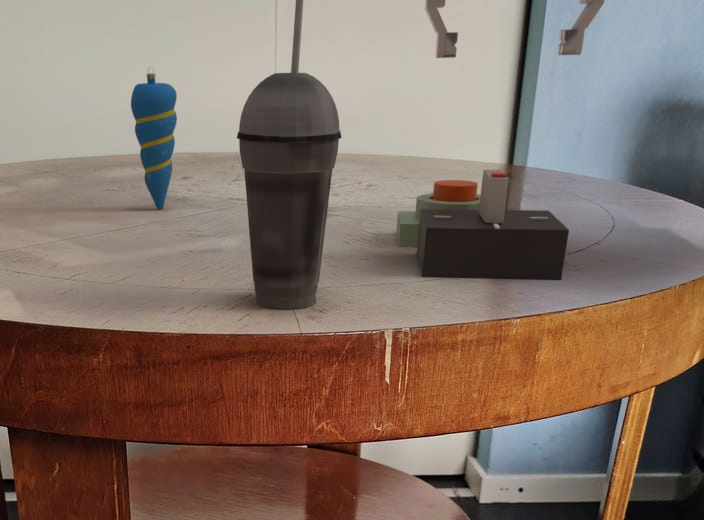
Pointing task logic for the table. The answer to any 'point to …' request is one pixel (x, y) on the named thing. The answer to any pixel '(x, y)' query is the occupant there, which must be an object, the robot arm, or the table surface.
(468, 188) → the button
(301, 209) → the beverage cup
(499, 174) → the knob
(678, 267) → the table surface
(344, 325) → the table surface
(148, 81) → the ornament
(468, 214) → the block
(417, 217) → the housing
